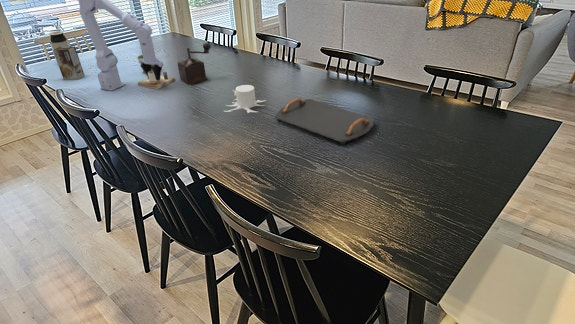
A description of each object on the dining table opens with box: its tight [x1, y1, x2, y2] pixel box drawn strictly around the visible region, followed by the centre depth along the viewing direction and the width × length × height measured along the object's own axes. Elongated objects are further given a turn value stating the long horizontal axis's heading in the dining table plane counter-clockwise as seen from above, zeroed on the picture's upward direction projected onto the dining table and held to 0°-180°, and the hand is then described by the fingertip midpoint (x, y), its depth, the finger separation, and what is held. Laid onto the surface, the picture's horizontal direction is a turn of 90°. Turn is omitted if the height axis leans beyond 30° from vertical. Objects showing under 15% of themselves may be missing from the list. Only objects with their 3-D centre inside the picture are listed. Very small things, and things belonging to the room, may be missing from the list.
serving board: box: [274, 98, 375, 146], centre depth 149 cm, size 39×23×6 cm, turn 49°
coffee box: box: [52, 45, 86, 81], centre depth 202 cm, size 9×6×16 cm
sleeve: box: [147, 70, 160, 83], centre depth 189 cm, size 5×5×5 cm
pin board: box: [137, 71, 176, 90], centre depth 194 cm, size 13×13×5 cm
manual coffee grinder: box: [177, 42, 212, 86], centre depth 193 cm, size 16×11×18 cm
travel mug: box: [48, 30, 69, 50], centre depth 225 cm, size 8×8×18 cm
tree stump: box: [224, 84, 267, 114], centre depth 166 cm, size 20×19×8 cm
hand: (154, 78), depth 189 cm, fingers closed on sleeve, 5 cm apart
